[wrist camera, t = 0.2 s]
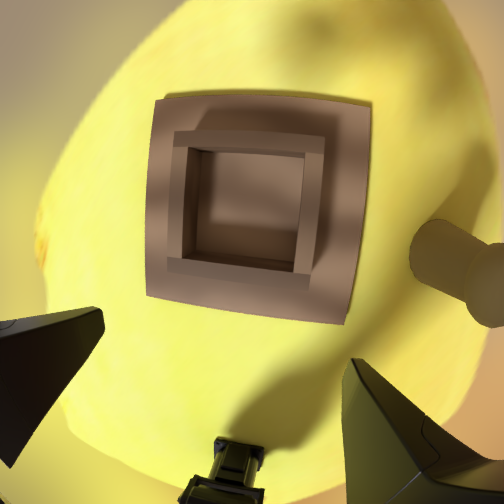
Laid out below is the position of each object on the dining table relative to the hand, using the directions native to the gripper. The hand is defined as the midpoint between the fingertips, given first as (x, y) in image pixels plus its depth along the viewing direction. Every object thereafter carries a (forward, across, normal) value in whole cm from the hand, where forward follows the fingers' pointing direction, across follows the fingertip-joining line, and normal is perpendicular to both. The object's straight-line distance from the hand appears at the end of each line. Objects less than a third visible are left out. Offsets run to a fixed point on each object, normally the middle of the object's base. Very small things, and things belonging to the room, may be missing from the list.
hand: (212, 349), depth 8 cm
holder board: (+14, +2, -3) cm, 15 cm away
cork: (+15, -15, -2) cm, 21 cm away
